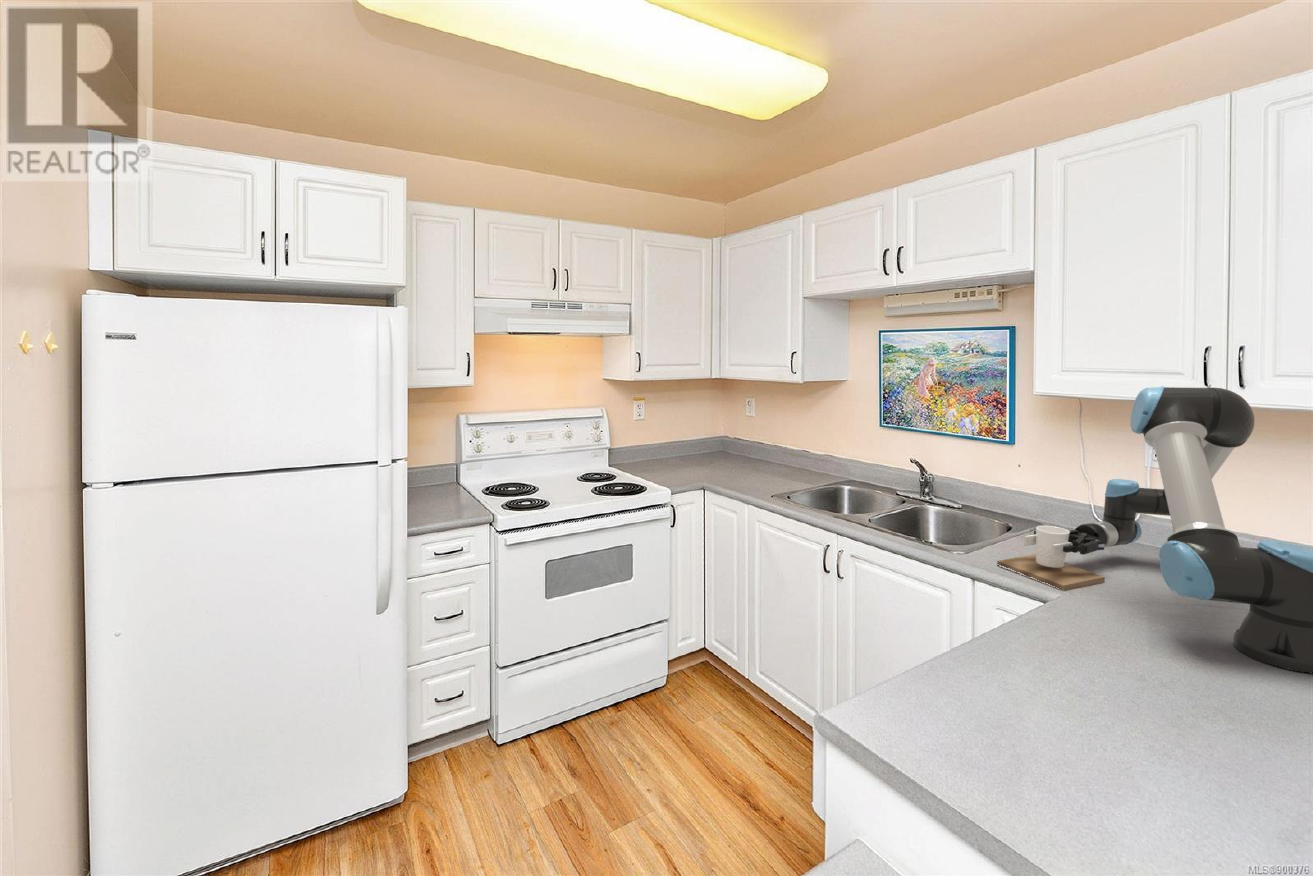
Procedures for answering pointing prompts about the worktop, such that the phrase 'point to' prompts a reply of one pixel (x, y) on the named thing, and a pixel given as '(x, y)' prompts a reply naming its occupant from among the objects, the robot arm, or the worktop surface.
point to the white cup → (1050, 545)
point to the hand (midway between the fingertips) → (1038, 545)
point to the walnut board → (1052, 573)
